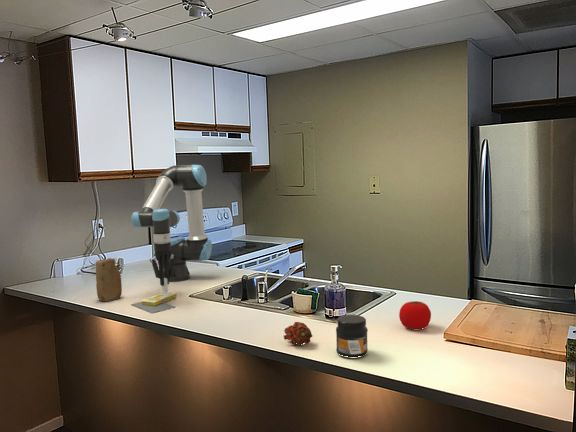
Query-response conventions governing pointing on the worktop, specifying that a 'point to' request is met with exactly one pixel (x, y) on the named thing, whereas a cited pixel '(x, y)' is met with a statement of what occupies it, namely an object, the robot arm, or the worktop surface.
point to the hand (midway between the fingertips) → (165, 291)
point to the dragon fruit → (298, 333)
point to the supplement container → (351, 336)
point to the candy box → (159, 298)
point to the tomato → (415, 315)
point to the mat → (153, 307)
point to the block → (108, 280)
